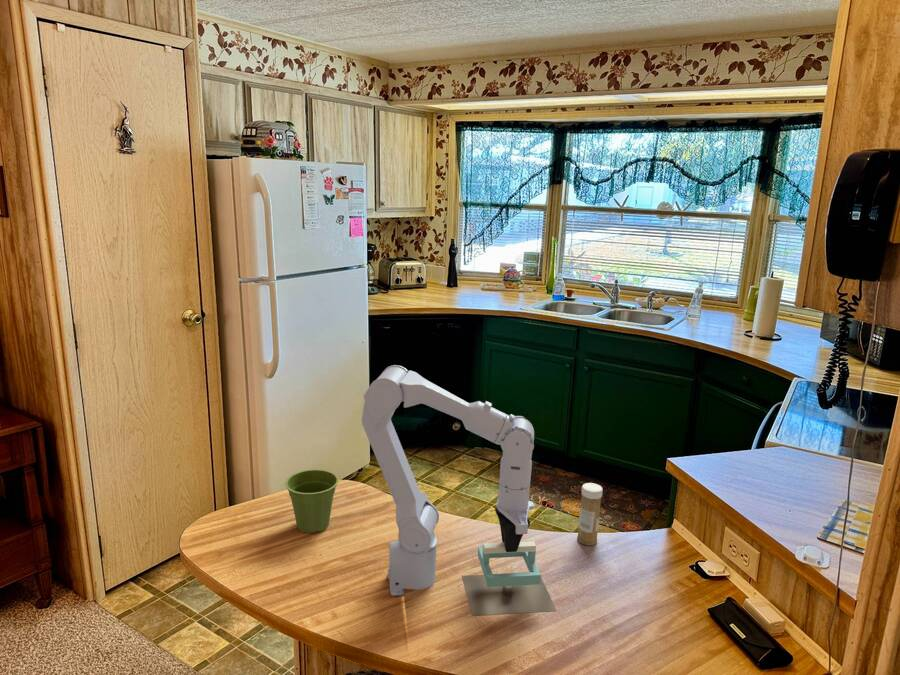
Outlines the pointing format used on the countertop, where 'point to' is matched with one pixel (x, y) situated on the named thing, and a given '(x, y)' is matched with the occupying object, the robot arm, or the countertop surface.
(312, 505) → the plant pot
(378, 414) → the robot arm
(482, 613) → the post stand
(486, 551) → the teal square frame
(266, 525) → the countertop surface
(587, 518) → the sprinkles bottle
